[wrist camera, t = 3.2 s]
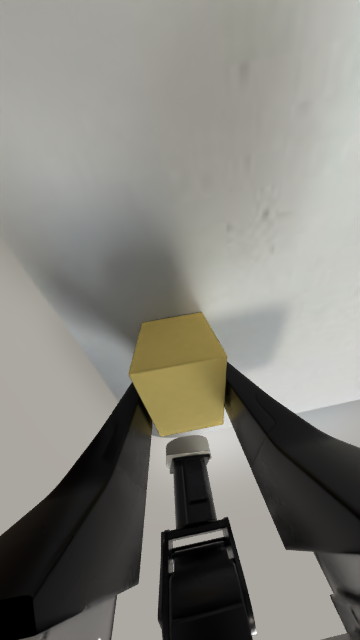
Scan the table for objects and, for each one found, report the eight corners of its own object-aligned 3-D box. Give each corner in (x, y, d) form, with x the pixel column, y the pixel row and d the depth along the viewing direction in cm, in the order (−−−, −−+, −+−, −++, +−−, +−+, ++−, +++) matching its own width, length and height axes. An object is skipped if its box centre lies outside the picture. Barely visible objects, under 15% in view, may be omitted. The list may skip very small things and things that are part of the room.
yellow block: (205, 371, 12) (223, 424, 8) (161, 380, 12) (160, 437, 8) (202, 311, 9) (228, 355, 5) (141, 322, 9) (127, 374, 5)
